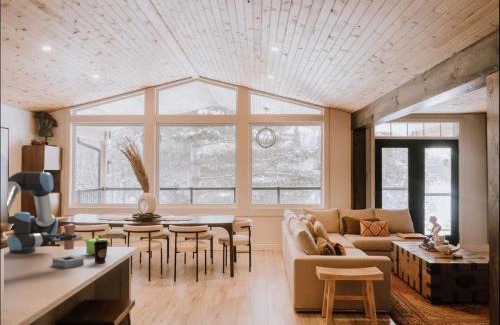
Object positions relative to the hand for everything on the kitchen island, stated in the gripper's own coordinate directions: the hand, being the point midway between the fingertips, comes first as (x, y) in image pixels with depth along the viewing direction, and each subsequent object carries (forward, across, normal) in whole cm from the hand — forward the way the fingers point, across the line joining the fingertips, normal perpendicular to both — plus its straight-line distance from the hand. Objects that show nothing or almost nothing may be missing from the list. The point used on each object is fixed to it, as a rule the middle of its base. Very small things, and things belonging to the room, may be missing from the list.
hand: (77, 235), depth 238 cm
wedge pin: (-5, 0, -8) cm, 9 cm away
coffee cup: (+12, +7, -17) cm, 22 cm away
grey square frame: (-5, 0, -17) cm, 18 cm away
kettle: (+24, -14, -17) cm, 33 cm away
